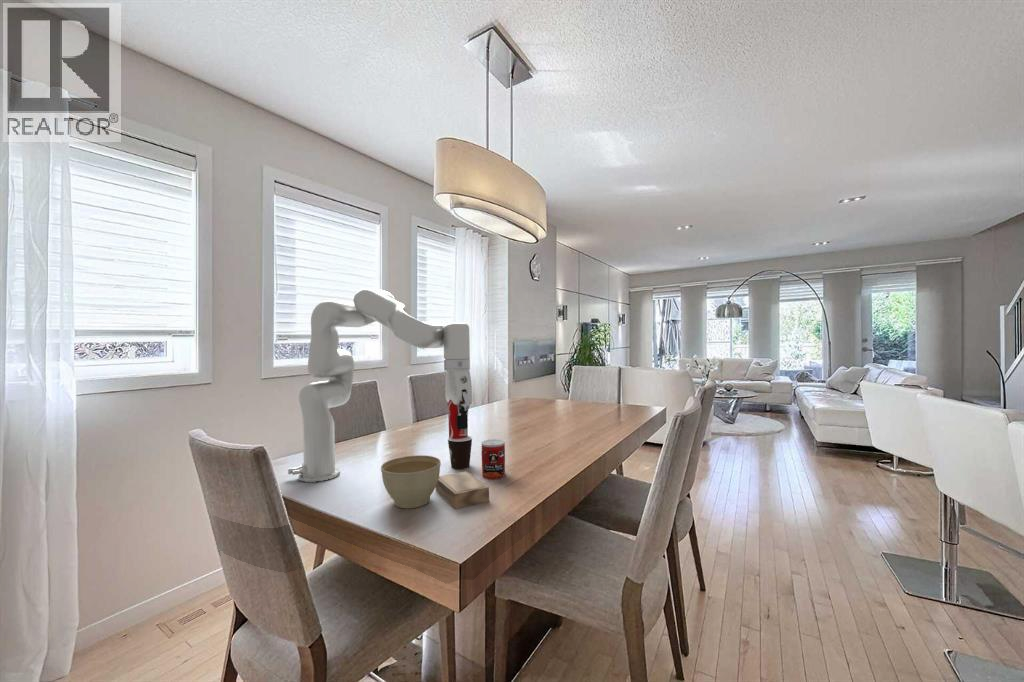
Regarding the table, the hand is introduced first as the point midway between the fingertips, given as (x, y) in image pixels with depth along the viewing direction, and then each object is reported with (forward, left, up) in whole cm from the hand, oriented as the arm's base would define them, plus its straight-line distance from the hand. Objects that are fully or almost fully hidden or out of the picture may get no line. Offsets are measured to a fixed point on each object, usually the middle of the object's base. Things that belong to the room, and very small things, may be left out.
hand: (458, 426), depth 121 cm
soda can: (0, 0, -4) cm, 4 cm away
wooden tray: (0, -2, -20) cm, 20 cm away
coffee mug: (+11, +25, -20) cm, 34 cm away
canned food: (+16, +9, -20) cm, 27 cm away
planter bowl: (-14, +1, -20) cm, 24 cm away
